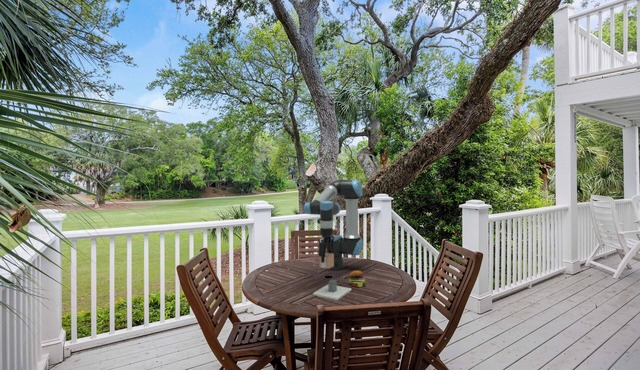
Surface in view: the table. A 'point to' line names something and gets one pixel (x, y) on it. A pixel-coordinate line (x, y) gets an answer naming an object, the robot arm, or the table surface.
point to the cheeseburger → (356, 279)
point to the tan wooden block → (328, 260)
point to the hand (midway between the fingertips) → (326, 266)
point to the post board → (330, 294)
